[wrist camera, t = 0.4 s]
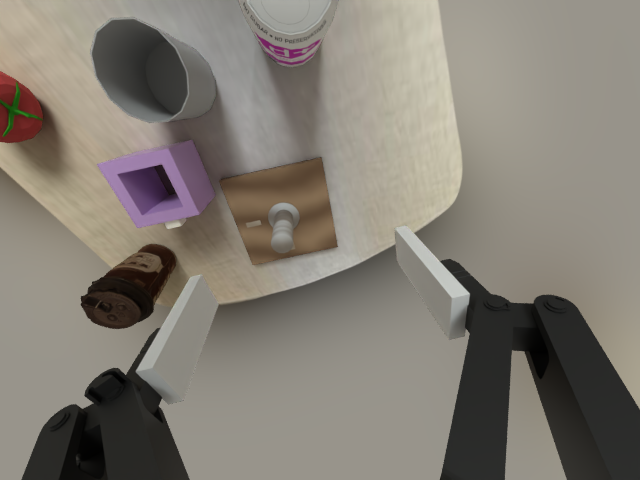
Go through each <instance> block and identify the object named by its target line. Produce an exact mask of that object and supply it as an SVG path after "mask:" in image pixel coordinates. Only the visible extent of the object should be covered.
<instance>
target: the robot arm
mask: <svg viewBox="0 0 640 480" xmlns="http://www.w3.org/2000/svg"><path fill="white" fill-rule="evenodd" d="M395 241H396V254H397V262H398V264H399V265H400V267H401V268H402V270H403V271H404V273H405V275H406V276H407V278H408V279H409V280H410V282H411V284H412V285H413V287H414V288H415V290H416V291H417V293H418V294H419V296H420V297H421V299H422V300H423V302H424V303H425V305H426V306H427V308H428V309H429V311H430V312H431V314H432V315H433V317H434V318H435V320H436V321H437V323H438V324H439V326H440V327H441V329H442V330H443V332H444V334H445V335H446V336H447V338H448V339H449V340H451V339H455V338H459V337H464V336H465V330H466V329H467V330H468V332H469V333H470V335H469V340H468V346H467V350H466V355H465V360H464V365H463V370H462V375H461V380H460V385H459V390H458V395H457V400H456V404H455V410H454V415H453V419H452V425H451V429H450V434H449V439H448V444H447V449H446V454H445V459H444V464H443V469H442V474H441V477H440V480H505V463H506V445H507V426H508V408H509V390H510V371H511V354H512V350H514V351H524V352H525V354H526V357H527V361H528V364H529V366H530V370H531V373H532V375H533V378H534V382H535V385H536V388H537V391H538V394H539V397H540V400H541V403H542V406H543V409H544V412H545V415H546V418H547V420H548V424H549V427H550V430H551V433H552V436H553V439H554V442H555V445H556V448H557V451H558V454H559V457H560V460H561V463H562V466H563V469H564V472H565V475H566V478H567V480H640V409H639V408H638V406H637V404H636V403H635V401H634V399H633V398H632V396H631V395H630V393H629V391H628V390H627V388H626V386H625V385H624V383H623V382H622V380H621V378H620V377H619V375H618V373H617V372H616V370H615V369H614V367H613V365H612V364H611V362H610V360H609V359H608V357H607V355H606V354H605V352H604V351H603V349H602V347H601V346H600V344H599V342H598V341H597V339H596V338H595V336H594V334H593V332H592V331H591V329H590V328H589V326H588V324H587V323H586V321H585V320H584V318H583V316H582V315H581V313H580V311H579V310H578V308H577V307H576V306H575V305H574V304H573V303H571V302H570V301H568V300H567V299H564V298H561V297H558V296H554V295H541V296H538V297H537V298H536V299H535V300H534V303H533V304H528V303H525V304H524V303H510V302H509V301H508V300H507V299H505V298H503V297H501V296H498V295H493V294H490V293H489V292H488V291H487V290H486V289H485V288H484V287H483V286H482V285H481V284H480V283H479V282H478V281H477V280H476V279H474V277H473V276H471V275H470V274H469V273H468V272H467V271H466V270H465V269H464V268H463V267H462V266H461V265H460V264H459V263H457V262H455V261H453V260H451V259H447V260H442V261H439V260H438V259H437V258H436V257H435V256H434V255H433V254H432V253H431V252H430V250H429V249H428V248H427V247H426V246H425V245H424V244H423V243H422V242H421V241H420V240H419V239H418V238H417V236H416V235H415V234H414V233H413V232H412V231H411V230H410V229H409V228H408V227H407V226H406V225H405V226H401V227H397V228H395ZM218 305H219V303H218V302H217V300H216V298H215V296H214V295H213V293H212V291H211V290H210V288H209V286H208V284H207V283H206V281H205V279H204V278H203V276H202V274H200V275H196V276H192V277H190V279H189V280H188V282H187V284H186V285H185V287H184V289H183V291H182V292H181V294H180V296H179V297H178V299H177V301H176V303H175V304H174V306H173V308H172V310H171V311H170V313H169V315H168V316H167V318H166V320H165V322H164V323H163V325H162V327H161V328H157V329H156V330H155V331H154V332H153V333H152V334H151V335H150V336H149V338H148V340H147V341H146V343H145V345H144V347H143V348H142V350H141V351H140V354H139V355H138V356H137V358H136V359H135V361H134V363H133V364H132V366H131V368H130V369H129V371H128V372H127V374H126V375H125V374H124V373H123V372H121V370H120V369H118V368H112V369H109V370H107V371H105V372H103V373H102V374H100V375H99V376H98V377H96V378H95V379H94V380H93V381H92V382H91V383H90V384H89V386H88V387H87V389H86V391H85V397H87V398H88V399H89V400H90V401H92V402H93V403H94V404H91V405H90V406H88V407H86V408H84V409H82V408H80V407H79V406H77V405H76V404H75V405H74V404H73V405H69V406H67V407H65V408H63V409H62V410H60V411H59V412H57V413H56V414H55V415H54V416H52V417H51V418H50V419H49V420H48V422H47V423H46V424H45V425H44V426H43V428H42V430H41V432H40V434H39V436H38V439H37V441H36V444H35V447H34V449H33V452H32V454H31V457H30V459H29V462H28V464H27V467H26V470H25V472H24V475H23V477H22V480H190V479H189V477H188V474H187V472H186V469H185V467H184V464H183V462H182V459H181V456H180V454H179V451H178V449H177V446H176V444H175V442H174V439H173V436H172V434H171V431H170V429H169V426H168V424H167V421H166V419H165V416H164V413H163V411H162V410H161V408H160V407H159V404H160V401H161V399H163V400H164V401H165V402H167V403H168V404H173V403H177V402H181V401H184V399H185V396H186V393H187V390H188V387H189V385H190V382H191V379H192V376H193V374H194V371H195V368H196V365H197V363H198V359H199V357H200V354H201V351H202V349H203V346H204V343H205V341H206V338H207V335H208V332H209V329H210V327H211V324H212V321H213V318H214V316H215V313H216V310H217V307H218Z"/></svg>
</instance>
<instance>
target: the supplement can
mask: <svg viewBox="0 0 640 480" xmlns="http://www.w3.org/2000/svg"><path fill="white" fill-rule="evenodd" d="M238 1H239V4H240V7H241V9H242V12H243V14H244V16H245V18H246V20H247V22H248V24H249V25H250V27H251V29H252V31H253V33H254V35H255V36H256V38H257V40H258V42H259V44H260V46H261V47H262V49H263V50H264V51H265V53H266V54H267V55H268V57H269V58H270V59H272V60H273V61H275V62H276V63H278V64H279V65H282V66H286V67H291V68H292V67H297V66H302V65H303V64H305V63H306V62H308V61H309V60H310V59H312V57H313V56H314V54H315V53H316V51H317V50H318V48H319V46H320V44H321V42H322V40H323V38H324V36H325V34H326V32H327V30H328V28H329V26H330V24H331V22H332V20H333V18H334V15H335V11H336V8H337V5H338V1H339V0H238Z"/></svg>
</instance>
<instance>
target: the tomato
mask: <svg viewBox="0 0 640 480" xmlns="http://www.w3.org/2000/svg"><path fill="white" fill-rule="evenodd" d="M42 122H43V114H42V110H41V107H40V103H39V102H38V100H37V99H36V98H35V96H34V95H33V94H32V92H31V91H30V90H29V89H28V88H26V87H25V86H24V85H22V84H21V83H19V82H18V81H17V80H15V79H14V78H12V77H10V76H8V75H6V74H5V73H3V72H0V142H5V143H14V142H21V141H25V140H28V139H31V138H33V137H34V136H35V135H36V134H37V133H38V132H39V131H40V130H41V127H42Z"/></svg>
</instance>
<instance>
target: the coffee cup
mask: <svg viewBox="0 0 640 480" xmlns="http://www.w3.org/2000/svg"><path fill="white" fill-rule="evenodd" d="M175 266H176V257H175V255H174V253H173V252H172V251H171V250H169V249H168V248H166V247H165V246H162V245H157V244H149V245H146V246H144V247H142V248H141V249H140V250H139V251H138V253H135V254H133V255H131V256H130V257H128V258H127V259H126V260H124V261H123V262H122V263H120V264H118V265H117V266H115V267H114V268H113V269H112V270H110V271H109V272H108V273H107V274H106V275H105V276H104V277H101V278H100V279H99V280H97V281H94V282H92V285H91V286H90V287H89V288H88V294H86V295H85V296H81V301H82V303H81V306H82V308H83V309H84V311H85V313H86V315H87V317H88V318H89V319H91V321H92V322H93V323H95V324H98V325H100V326H104V327H108V328H113V329H121V328H128V327H130V326H132V325H134V324H136V323H137V322H140V321H142V320H144V319H146V318H148V317H149V316H150V315H151V314H152V313H153V310H154V305H155V302H156V300H157V298H158V297H159V295H160V293H161V292H162V290H163V288H164V286H165V285H166V283H167V281H168V279H169V277H170V274H171V273H172V271H173V270H174V268H175Z"/></svg>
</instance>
